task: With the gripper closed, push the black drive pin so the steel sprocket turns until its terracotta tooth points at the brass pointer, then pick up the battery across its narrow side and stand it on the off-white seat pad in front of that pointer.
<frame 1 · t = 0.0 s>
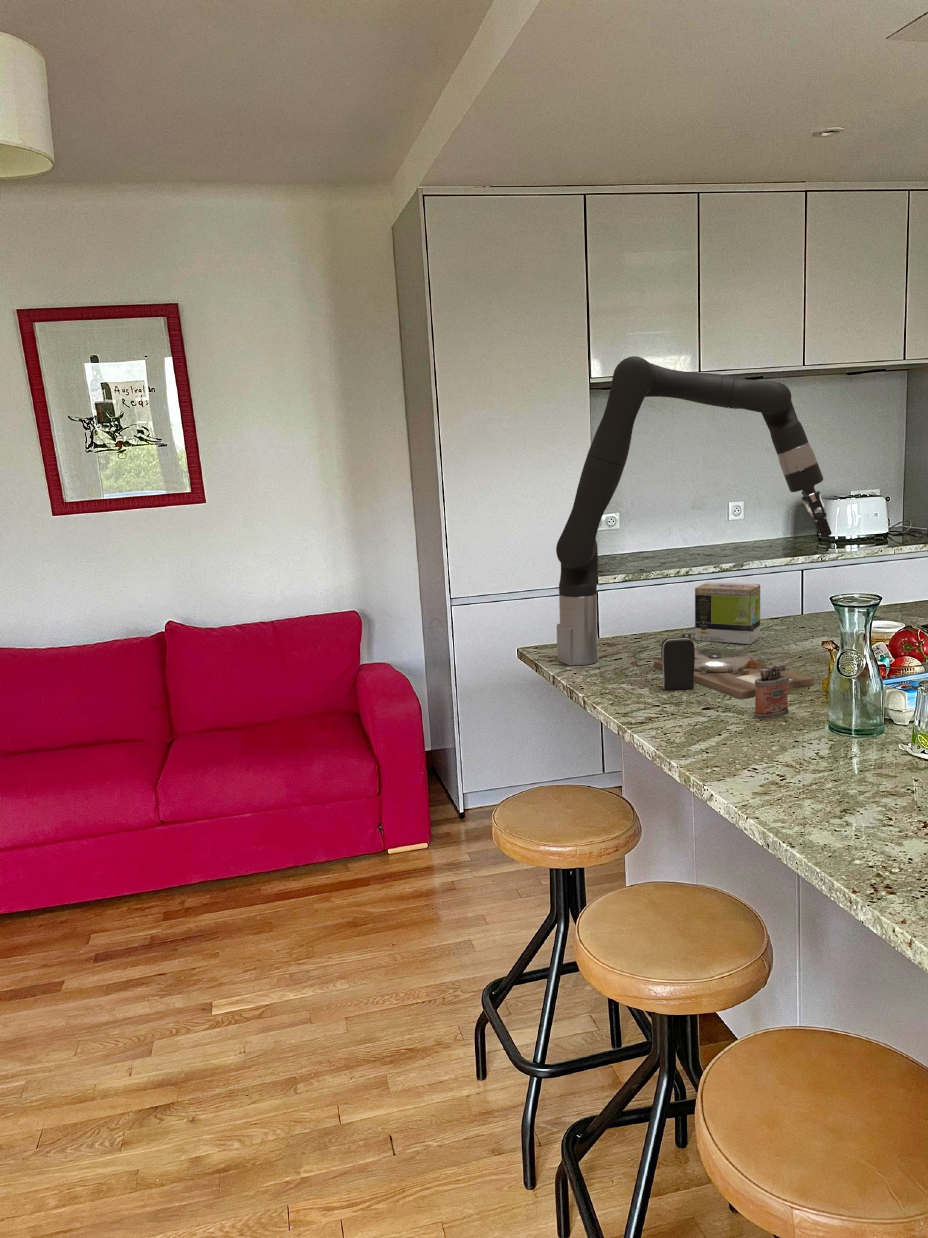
hand: (825, 533, 205), 31 cm above the countertop, tool tilted 20°, fingers open, 8 cm apart
lighter: (771, 715, 180), on the countertop
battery: (677, 688, 201), on the countertop
tea box: (727, 640, 243), on the countertop
sprocket: (714, 649, 213), point 5 cm above the countertop, hinge at 35.0°
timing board: (730, 675, 209), on the countertop
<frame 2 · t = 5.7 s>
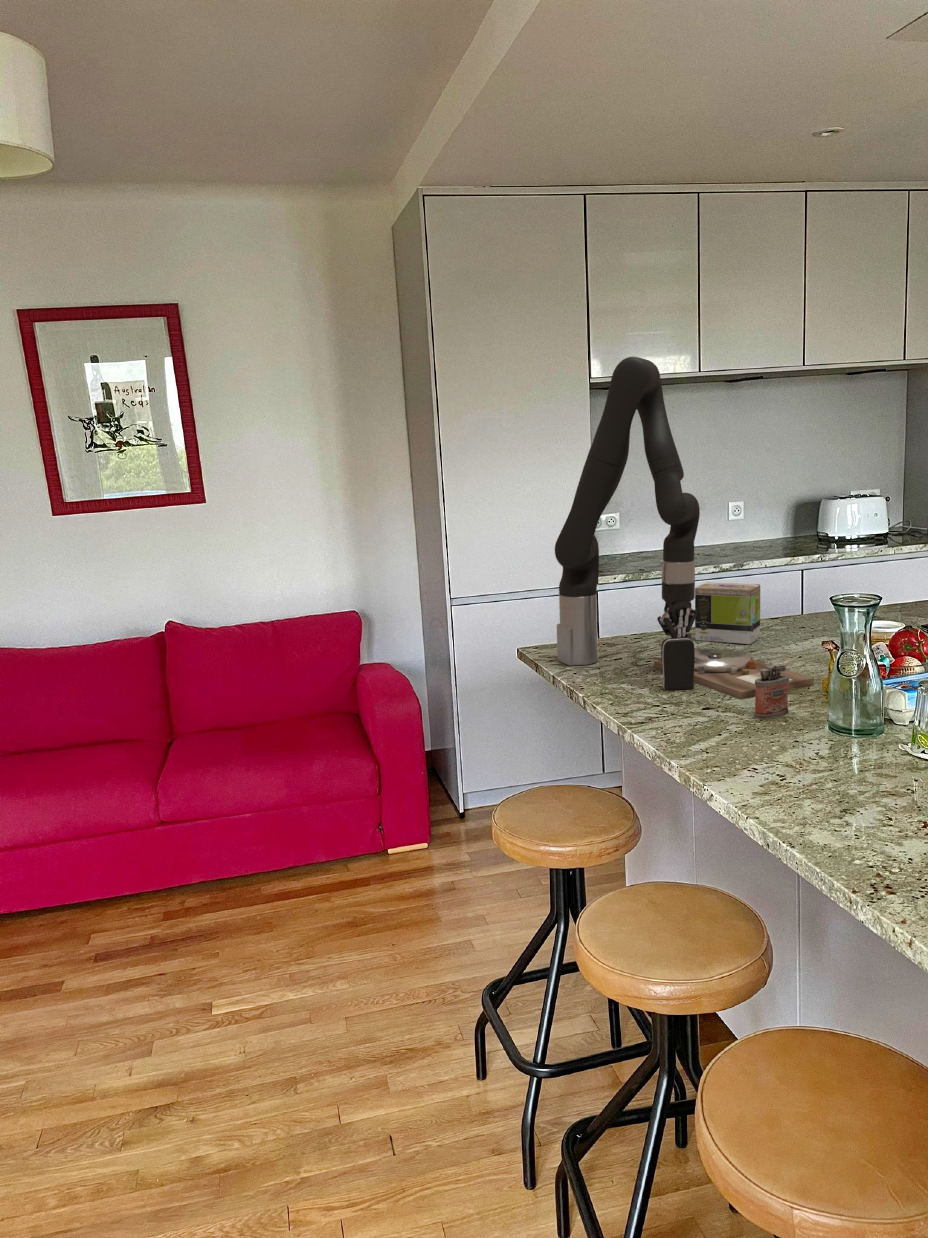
hand: (677, 651, 214), 5 cm above the countertop, tool pointing down, fingers closed
sprocket: (714, 649, 213), point 5 cm above the countertop, hinge at 32.5°, touching gripper
everything else where it was.
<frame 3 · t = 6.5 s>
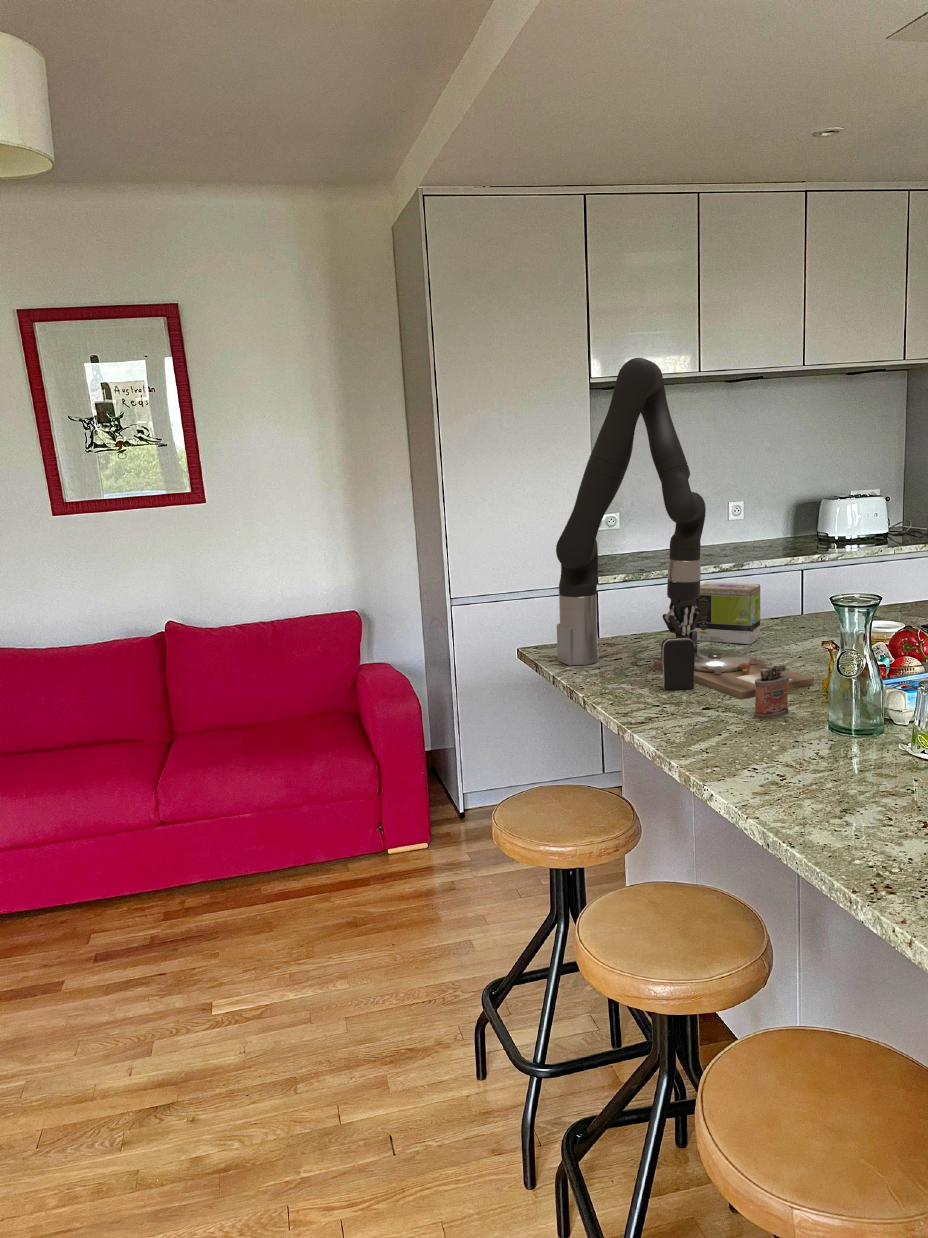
hand: (681, 649, 216), 5 cm above the countertop, tool pointing down, fingers closed
sprocket: (714, 649, 213), point 5 cm above the countertop, hinge at 10.1°, touching gripper
everything else where it was.
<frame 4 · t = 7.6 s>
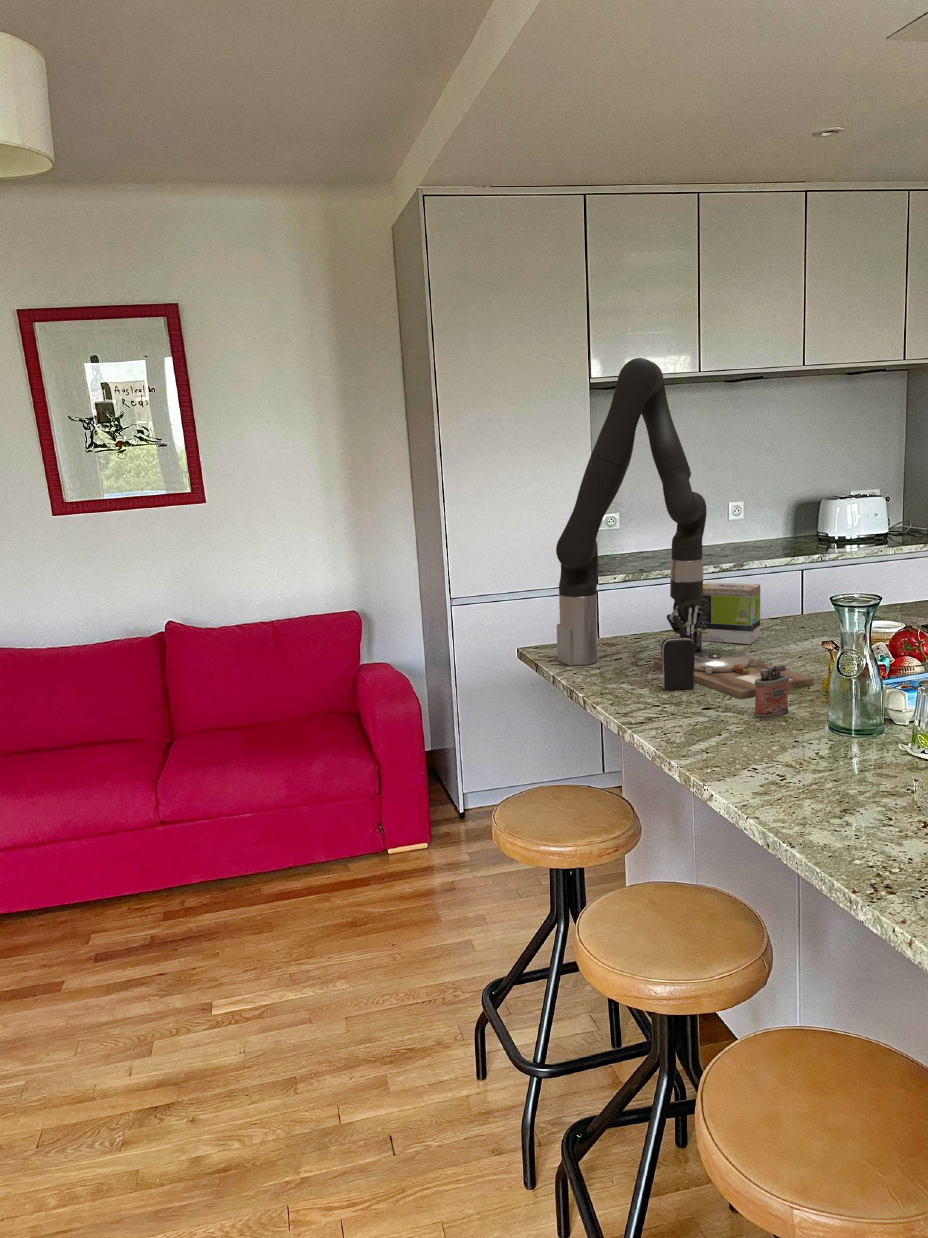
hand: (685, 649, 217), 4 cm above the countertop, tool pointing down, fingers closed
sprocket: (714, 649, 213), point 5 cm above the countertop, hinge at -1.7°
everything else where it was.
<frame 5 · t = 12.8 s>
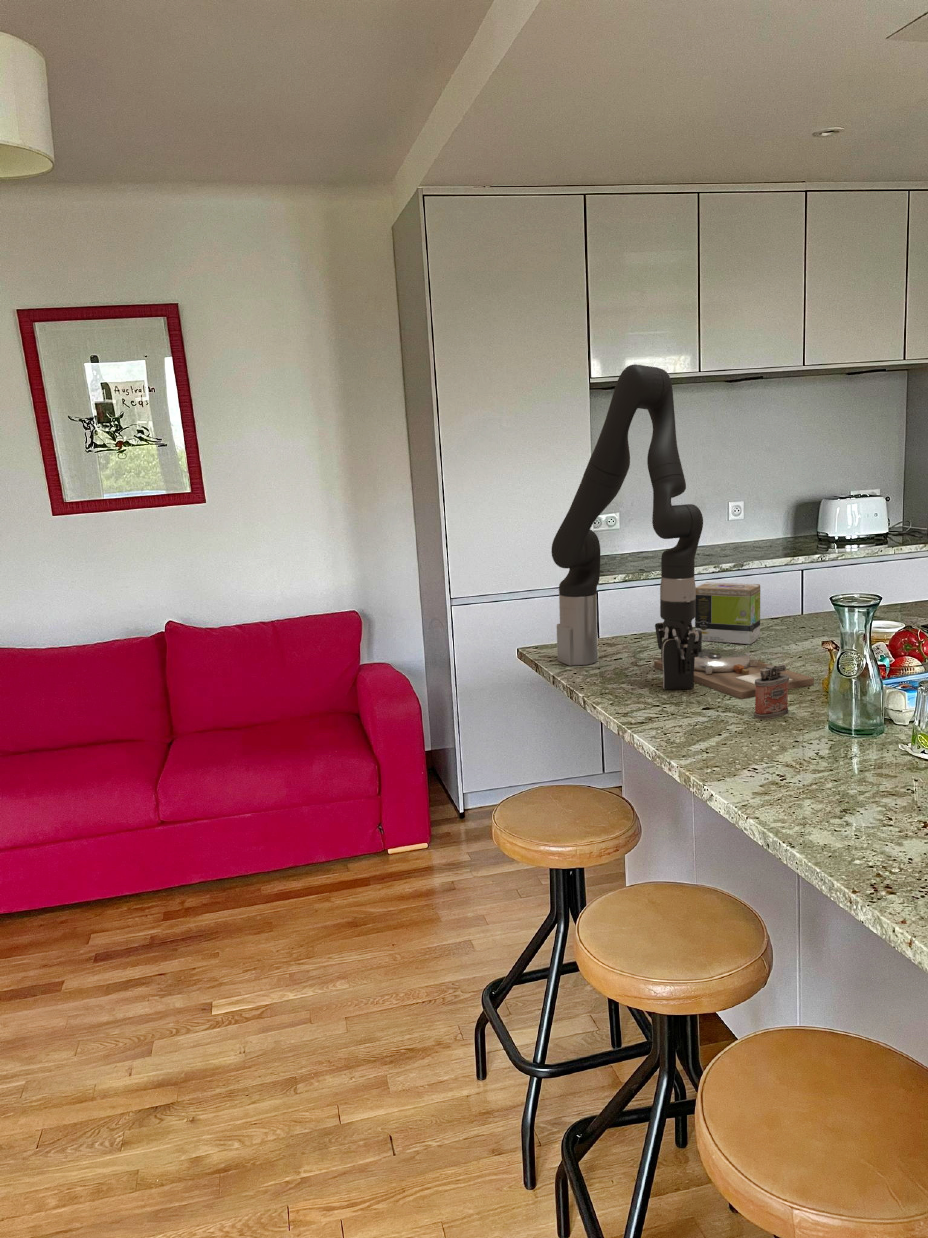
hand: (677, 672, 200), 4 cm above the countertop, tool pointing down, fingers closed on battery, 4 cm apart
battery: (677, 688, 201), on the countertop, touching gripper
everything else where it was.
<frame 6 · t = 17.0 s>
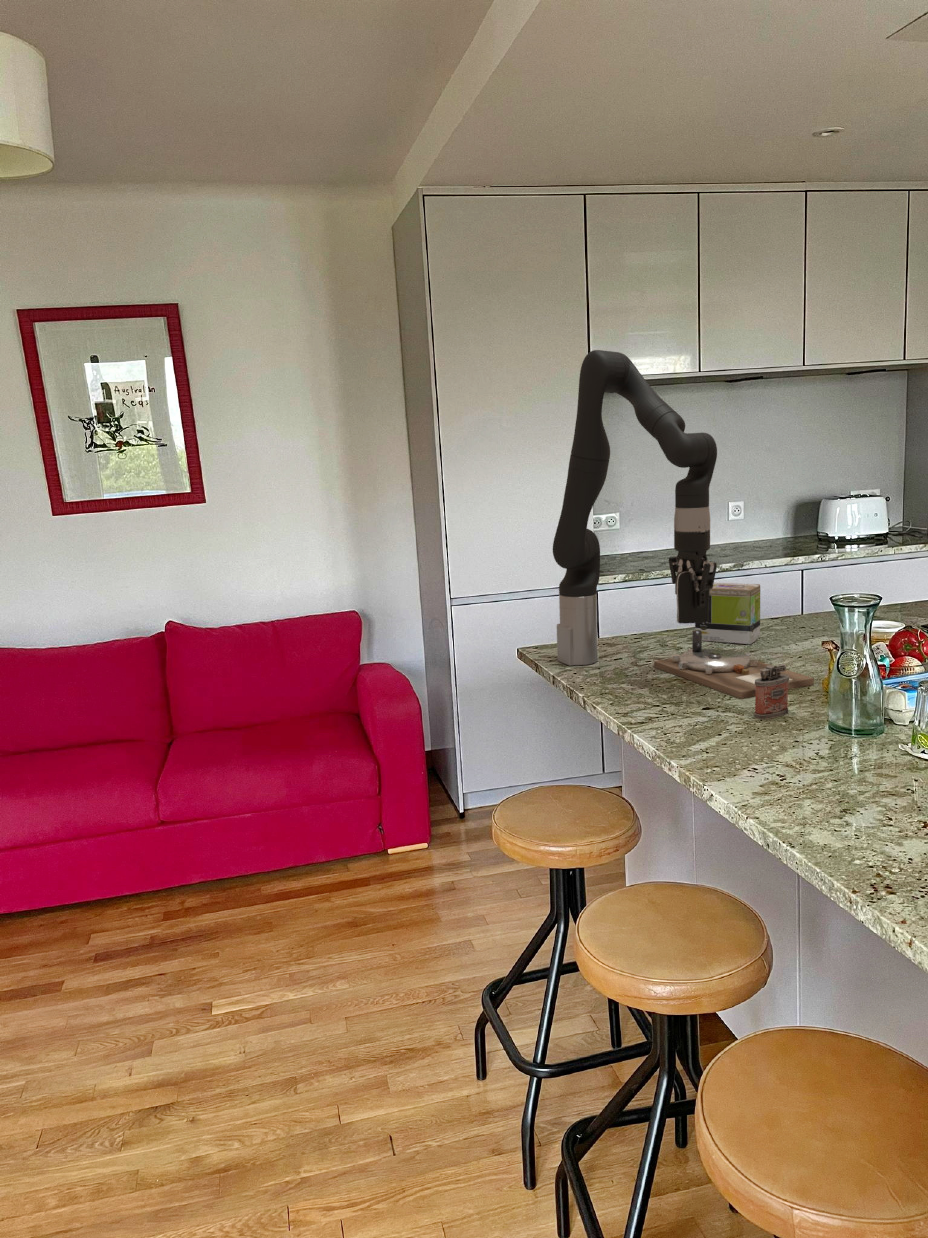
hand: (691, 605, 197), 19 cm above the countertop, tool pointing down, fingers closed on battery, 4 cm apart
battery: (691, 622, 198), point 15 cm above the countertop, touching gripper
everything else where it was.
when the fingers open (6 cm above the countertop, at t = 21.0 s): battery stays where it is, resting on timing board.
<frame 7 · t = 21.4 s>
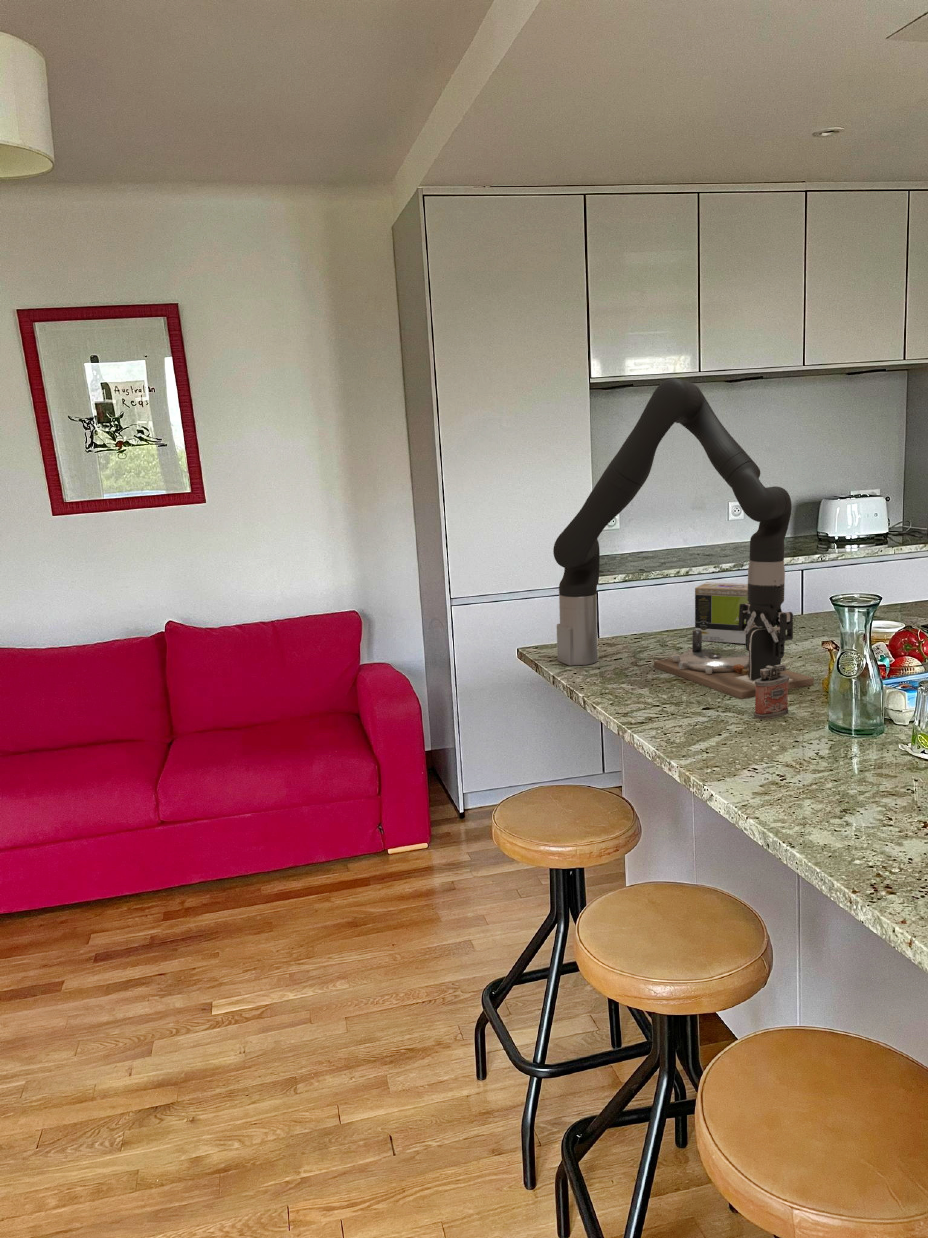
hand: (764, 654, 197), 7 cm above the countertop, tool pointing down, fingers open, 8 cm apart
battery: (762, 678, 199), point 2 cm above the countertop, touching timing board
everything else where it was.
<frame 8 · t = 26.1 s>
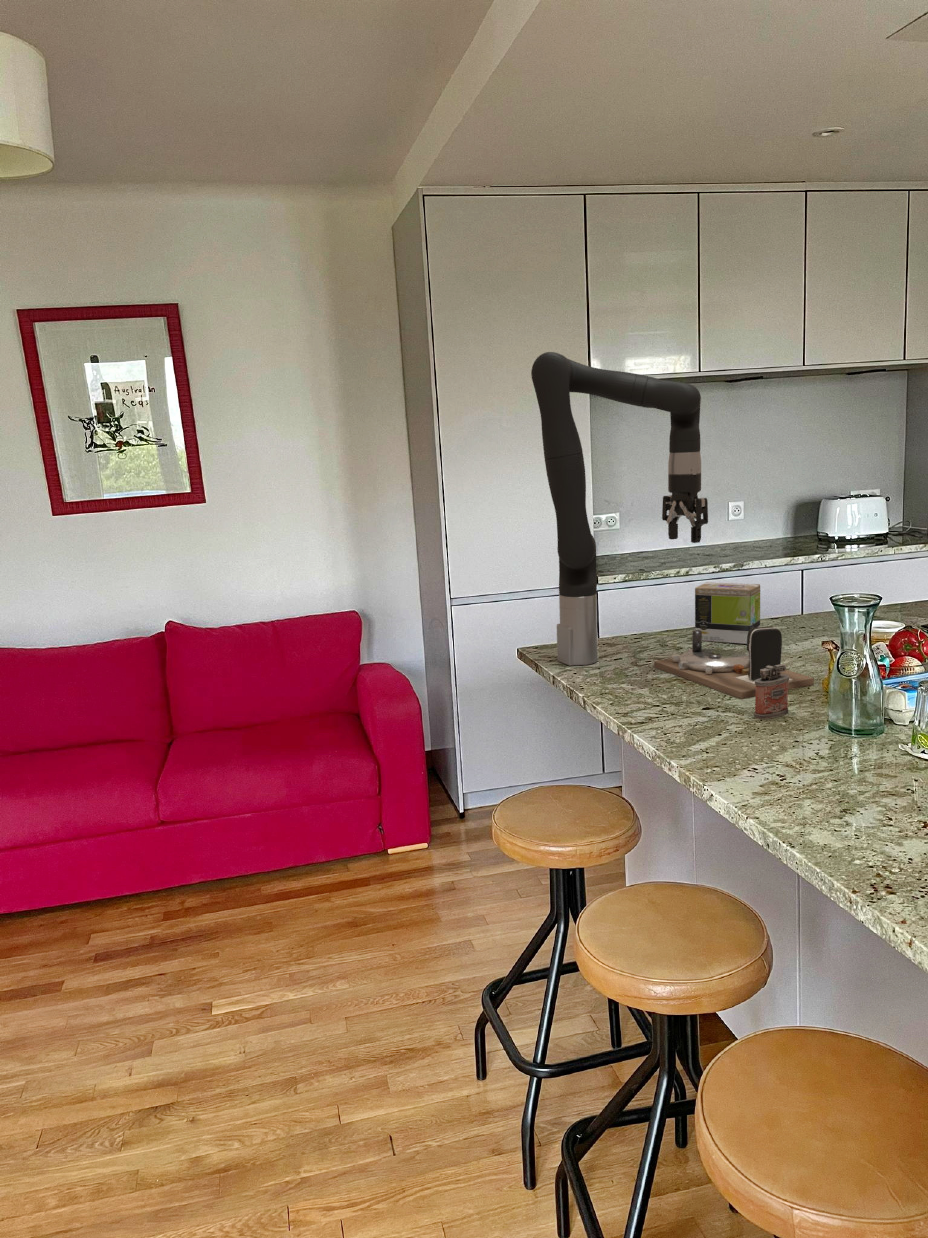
hand: (684, 540, 215), 30 cm above the countertop, tool pointing down, fingers open, 8 cm apart
nothing on the countertop moved.
at the end: sprocket at -2° (first picture: +35°); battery inside the target area (0.4 cm from its centre), point 1.7 cm above the countertop; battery tilted 0° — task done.
